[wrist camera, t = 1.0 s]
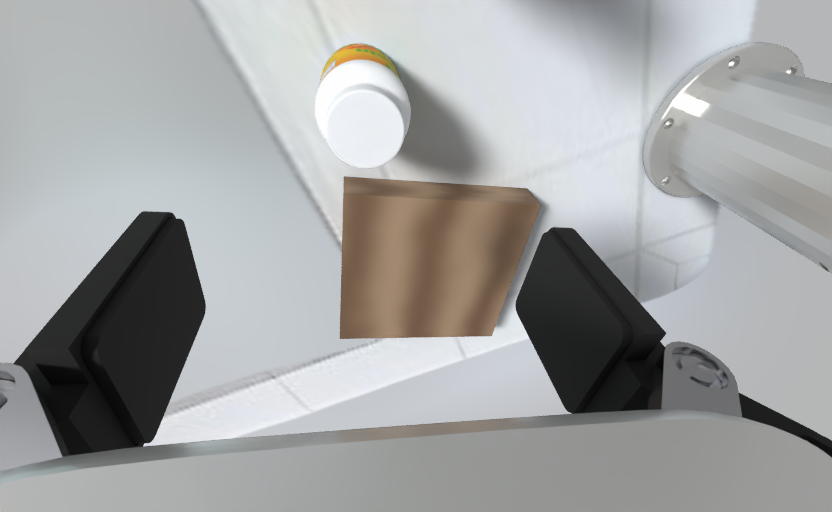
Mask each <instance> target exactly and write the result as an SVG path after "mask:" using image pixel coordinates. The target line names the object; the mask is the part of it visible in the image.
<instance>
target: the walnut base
mask: <svg viewBox="0 0 832 512" xmlns="http://www.w3.org/2000/svg"><path fill="white" fill-rule="evenodd" d="M540 206H541V205H540V204H539V202H538V201H537V200H536V199H535V198H534V196H533V195H532V194H531V193H530V191H529V190H528V189H525V188H510V187H495V186H479V185H464V184H448V183H433V182H418V181H402V180H387V179H371V178H356V177H344V198H343V236H342V275H341V277H342V278H341V314H340V339H351V338H408V337H464V336H492V334H493V331H494V328H495V326H496V323H497V320H498V318H499V315H500V312H501V310H502V307H503V304H504V302H505V299H506V296H507V294H508V291H509V288H510V286H511V283H512V280H513V278H514V275H515V272H516V270H517V267H518V264H519V262H520V259H521V256H522V254H523V251H524V248H525V246H526V243H527V240H528V238H529V235H530V232H531V230H532V227H533V224H534V222H535V219H536V217H537V214H538V211H539V209H540Z"/></svg>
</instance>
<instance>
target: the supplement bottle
mask: <svg viewBox="0 0 832 512" xmlns="http://www.w3.org/2000/svg"><path fill="white" fill-rule="evenodd" d="M315 117H316V122H317V125H318V128H319V130H320V132H321V134H322V136H323V137H324V139H325V140H326V142H327V143H328V144H329V146H330V147H331V149H332V151H333V152H334V153H335V155H336V156H337V157H338V158H340V159H341V160H342V161H343V162H345V163H347V164H349V165H351V166H353V167H357V168H363V169H370V168H376V167H379V166H382V165H384V164H386V163H387V162H389V161H390V160H391V159H393V158H394V157H395V155H396V154H397V153H398V152H399V150H400V148H401V146H402V143H403V140H404V138H405V136H406V134H407V131H408V129H409V125H410V119H411V106H410V101H409V97H408V94H407V92H406V89H405V87H404V85H403V83H402V81H401V79H400V77H399V75H398V72H397V70H396V68H395V66H394V64H393V63H392V61H391V60H390V59H389V58H388V56H387V55H386V54H384V53H383V52H382V51H381V50H379V49H378V48H376V47H374V46H372V45H368V44H364V43H353V44H348V45H345V46H343V47H341V48H339V49H338V50H337V51H336V52H334V53H333V54H332V56H331V57H330V58H329V59H328V61H327V63H326V64H325V67H324V69H323V72H322V76H321V79H320V83H319V87H318V91H317V94H316V99H315Z"/></svg>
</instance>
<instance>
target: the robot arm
mask: <svg viewBox="0 0 832 512" xmlns="http://www.w3.org/2000/svg"><path fill="white" fill-rule="evenodd" d="M643 163H644V167H645V171H646V174H647V175H648V177H649V179H650V180H651V182H653V183H654V184H655V185H656V186H657V187H658V188H660V189H662V190H663V191H665V192H666V193H668V194H671V195H675V196H681V197H691V196H699V195H703V194H706V195H707V196H709V197H711V198H712V199H714V200H715V201H717V202H719V203H720V204H722V205H723V206H725V207H727V208H728V209H730V210H731V211H733V212H734V213H736V214H738V215H739V216H741V217H742V218H744V219H746V220H747V221H749V222H750V223H752V224H754V225H755V226H757V227H758V228H760V229H762V230H763V231H765V232H766V233H768V234H770V235H771V236H773V237H774V238H776V239H778V240H779V241H781V242H782V243H784V244H786V245H787V246H789V247H790V248H792V249H794V250H795V251H797V252H798V253H800V254H801V255H803V256H805V257H806V258H808V259H809V260H811V261H813V262H814V263H816V264H817V265H819V266H821V267H822V268H824V269H825V270H827V271H828V272H830V273H832V83H828V82H824V81H819V80H815V79H810V78H806V77H805V75H804V71H803V66H802V63H801V62H800V60H799V58H798V56H797V55H796V54H794V53H793V52H792V51H791V50H790V49H788V48H786V47H782V46H780V45H777V44H771V43H764V42H754V43H745V44H741V45H738V46H735V47H731V48H729V49H727V50H724V51H722V52H720V53H718V54H716V55H714V56H712V57H711V58H709V59H708V60H706V61H705V62H703V63H702V64H700V65H699V66H697V67H696V68H695V69H694V70H693V71H692V72H690V73H689V74H688V75H687V76H686V77H685V78H684V79H682V81H681V82H680V83H679V84H678V85H677V86H676V87H675V88H674V89H673V90H672V91H671V93H670V94H669V95H668V97H667V98H666V99H665V101H664V102H663V104H662V105H661V106H660V108H659V109H658V111H657V113H656V115H655V117H654V119H653V120H652V122H651V125H650V127H649V130H648V133H647V135H646V139H645V144H644V149H643ZM205 307H206V306H205V300H204V295H203V292H202V288H201V284H200V280H199V277H198V273H197V269H196V265H195V261H194V258H193V254H192V250H191V246H190V242H189V239H188V235H187V231H186V227H185V224H184V222H183V220H182V219H176V218H175V216H174V215H173V213H170V212H141V213H140V214H139V215H138V216H137V218H136V219H135V220H134V221H133V222H132V223H131V225H130V226H129V227H128V228H127V229H126V231H125V232H124V233H123V234H122V235H121V236H120V238H119V239H118V240H117V241H116V242H115V244H114V245H113V246H112V247H111V249H109V251H108V252H107V253H106V254H105V255H104V257H103V258H102V259H101V260H100V261H99V262H98V264H97V265H96V266H95V267H94V268H93V270H92V271H91V272H90V273H89V274H88V275H87V277H86V278H85V279H84V280H83V281H82V283H81V284H80V285H79V286H78V288H77V289H76V290H75V291H74V292H73V293H72V294H71V296H70V297H69V298H68V299H67V301H66V302H65V303H64V304H63V305H62V306H61V308H60V309H59V310H58V311H57V312H56V314H55V315H54V316H53V317H52V318H51V319H50V320H49V322H48V323H47V324H46V326H44V328H43V329H42V330H41V331H40V332H39V333H38V335H37V336H36V337H35V338H34V339H33V341H32V342H31V343H30V344H29V345H28V346H27V348H26V349H25V351H24V352H23V353H22V354H21V355H20V356H19V358H18V359H17V360H16V361H15V363H14V364H12V363H0V512H832V441H831V440H830V439H828V438H826V437H823V436H821V435H820V434H818V433H817V432H815V431H813V430H811V429H809V428H807V427H805V426H803V425H801V424H799V423H797V422H795V421H793V420H791V419H789V418H787V417H785V416H784V415H782V414H780V413H778V412H776V411H774V410H772V409H770V408H768V407H766V406H764V405H762V404H760V403H758V402H756V401H754V400H752V399H750V398H748V397H746V396H744V395H742V394H740V393H738V387H737V383H736V380H735V377H734V376H733V374H732V372H731V371H730V370H729V368H728V367H727V366H726V365H725V364H724V363H722V361H720V360H719V359H718V358H717V357H715V356H714V355H712V354H711V353H709V352H708V351H706V350H704V349H702V348H700V347H698V346H695V345H693V344H689V343H685V342H672V343H670V344H668V345H667V346H666V347H664V346H663V345H662V343H661V342H660V341H661V340H662V338H663V337H664V336H665V334H666V332H665V331H664V330H663V329H662V328H661V327H660V325H659V324H658V323H657V322H656V321H655V320H654V319H653V318H652V316H651V315H650V314H649V313H648V312H647V311H646V310H645V309H644V308H643V306H642V305H641V304H640V303H639V302H638V301H637V300H636V298H635V297H634V296H633V295H632V294H631V293H630V292H629V291H628V289H627V288H626V287H625V286H624V285H623V284H622V283H621V282H620V280H619V279H618V278H617V277H616V276H615V275H614V274H613V272H612V271H611V270H610V269H609V268H608V267H607V266H606V265H605V263H604V262H603V261H602V260H601V259H600V258H599V257H598V256H597V254H596V253H595V252H594V251H593V250H592V249H591V248H590V247H589V245H588V244H587V243H586V242H585V241H584V240H583V239H582V238H581V236H580V235H579V234H578V233H577V232H576V231H575V230H574V229H573V228H556V227H553V228H551V229H550V230H549V231H548V232H546V233H544V234H543V235H542V237H541V240H540V242H539V245H538V247H537V250H536V252H535V255H534V257H533V260H532V262H531V265H530V267H529V270H528V272H527V275H526V277H525V280H524V282H523V285H522V287H521V290H520V292H519V295H518V297H517V300H516V311H517V314H518V316H519V318H520V320H521V322H522V324H523V326H524V328H525V330H526V332H527V334H528V336H529V338H530V340H531V342H532V344H533V345H534V348H535V350H536V351H537V354H538V356H539V358H540V360H541V361H542V363H543V366H544V367H545V370H546V371H547V373H548V376H549V377H550V379H551V381H552V383H553V385H554V387H555V389H556V391H557V393H558V395H559V397H560V399H561V401H562V403H563V405H564V407H565V409H566V410H567V411H568V412H570V413H572V414H566V415H565V414H564V415H549V416H534V417H520V418H505V419H490V420H476V421H462V422H448V423H435V424H434V423H433V424H420V425H406V426H394V427H393V426H392V427H379V428H365V429H351V430H339V431H325V432H313V433H300V434H287V435H274V436H260V437H248V438H235V439H222V440H211V441H200V442H189V443H178V444H168V445H157V446H146V447H143V445H144V443H150V442H151V441H152V440H153V439H154V437H155V435H156V433H157V430H158V428H159V426H160V423H161V421H162V418H163V416H164V413H165V411H166V408H167V406H168V404H169V401H170V399H171V396H172V393H173V391H174V389H175V386H176V384H177V381H178V379H179V377H180V374H181V371H182V369H183V367H184V364H185V362H186V359H187V357H188V354H189V352H190V350H191V347H192V345H193V342H194V340H195V337H196V335H197V332H198V330H199V327H200V325H201V322H202V320H203V317H204V315H205Z"/></svg>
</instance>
